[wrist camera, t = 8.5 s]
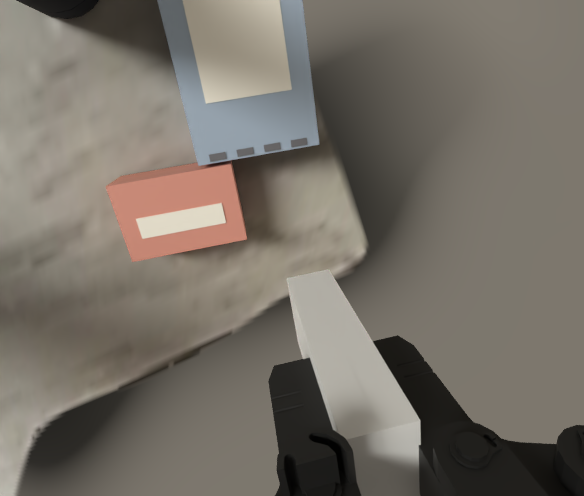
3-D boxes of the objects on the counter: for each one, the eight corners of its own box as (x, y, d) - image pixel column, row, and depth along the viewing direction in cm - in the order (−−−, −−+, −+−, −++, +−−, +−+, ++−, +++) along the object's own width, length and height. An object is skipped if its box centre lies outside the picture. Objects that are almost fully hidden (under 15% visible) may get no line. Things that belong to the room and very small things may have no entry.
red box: (143, 243, 32) (132, 262, 28) (121, 176, 30) (105, 186, 26) (245, 223, 33) (247, 239, 29) (230, 156, 30) (230, 164, 27)
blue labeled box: (202, 157, 30) (198, 166, 26) (152, -49, 25) (137, -79, 21) (308, 139, 31) (319, 144, 27) (281, -66, 26) (291, -97, 22)
